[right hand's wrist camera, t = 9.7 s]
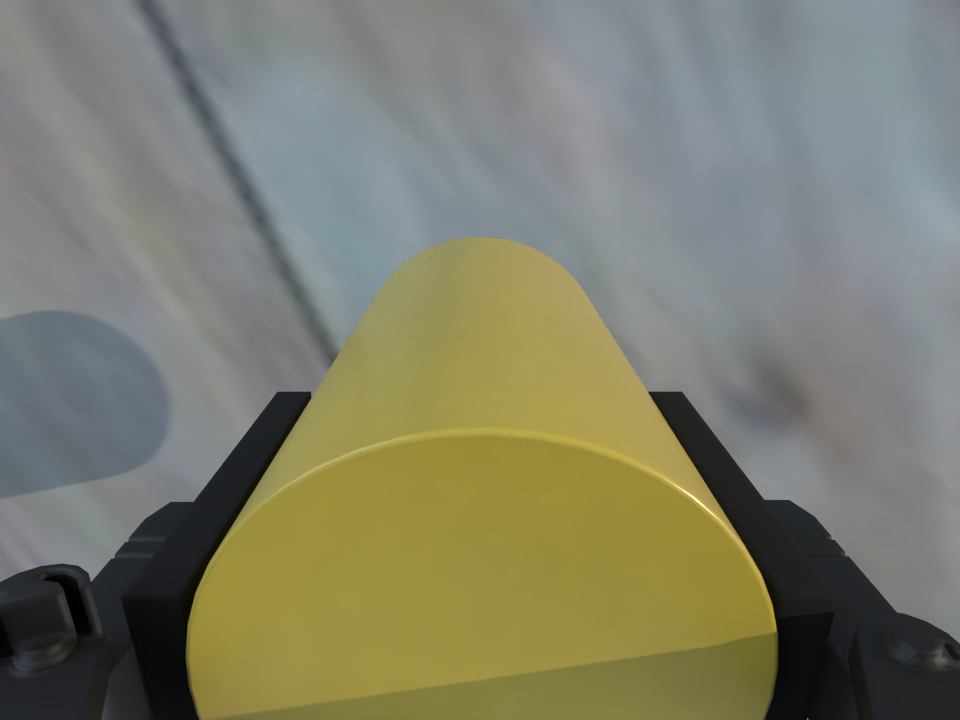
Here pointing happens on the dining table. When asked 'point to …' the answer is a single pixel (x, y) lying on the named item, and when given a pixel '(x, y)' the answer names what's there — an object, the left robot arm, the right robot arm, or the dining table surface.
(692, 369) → the dining table surface
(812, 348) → the dining table surface
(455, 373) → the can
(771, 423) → the dining table surface
